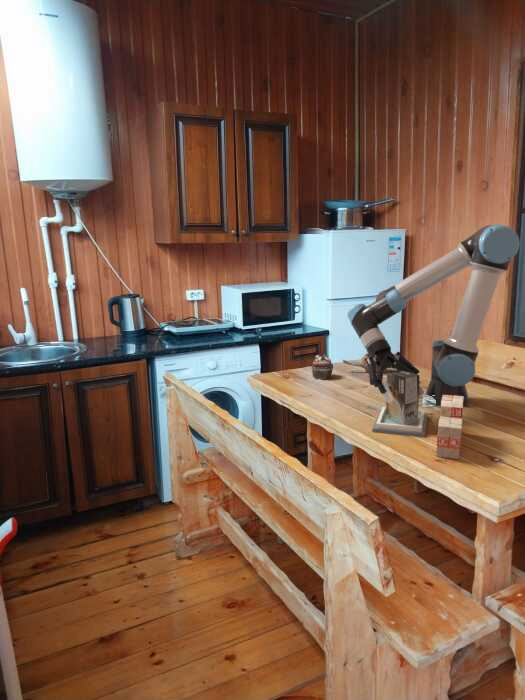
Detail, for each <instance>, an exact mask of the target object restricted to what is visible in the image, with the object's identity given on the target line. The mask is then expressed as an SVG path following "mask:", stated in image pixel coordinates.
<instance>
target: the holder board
mask: <svg viewBox="0 0 525 700" xmlns="http://www.w3.org/2000/svg"><path fill="white" fill-rule="evenodd" d="M427 423H428V413H425V410H424V409H423V410H422V409H418V422H417V423H414V424H410V425H402V424H399V423H397V422H394V421H392V420H389V419H387V418H386V406H382V407H381V409H379V411H378V414H377V417H376V418H375V422H374V423H373V426H372V433H383V434H392V435H402V436H411V435H412V436H414V437H421V436H423V438H425V437H426V431H427V425H428V424H427Z"/></svg>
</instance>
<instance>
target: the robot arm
mask: <svg viewBox="0 0 525 700" xmlns="http://www.w3.org/2000/svg"><path fill="white" fill-rule="evenodd" d="M520 244H521V243H520V238H519V235H518V233H517V232H516V231H515V230H514V229H513V228H511V227H510V226H508V225H504V224H499V223H498V224H492V225H491V224H490V225H485V226H484V227H481V228H480V229H478V230H476V231H475V232H474V233H473V234H471V235H470V236H468V237H467V238H465V239H463V241H461V242H460V243H458V245H457V247H456V248H455V249H453V250H452V251H450V252H448V253H446V254H445V255H442V256H441V257H440V258H438V259H436V260H434V261H433V262H431V263H429V264H427V265H426V266H424V267H422V268H420V269H419V270H417V271H416V272H413V274H411V275H409V276H407V277H406V278H404V279H402V280H401V281H399V282H397V283H396V284H394V285H392V286H390V287H389V288H387V289H383V290H382V291H379V293H378V294H377V295H376V298H375V301H373V302H372V303H371V304H368V305H366V304H365V303H358V304H357V305H356V304H355V305H353V306H352V307H351V308H350V309H349V310H348V312H347V318H348V319H349V322H350V325H351V326H352V329H354V331H355V333H356V335H357V336H358V338H359V340H360V342H361V343H362V345H363V347H364V348H365V350H366V352H367V354H369V356H370V357H369V358H368V360H367V361H366V363H367V365H368V369H369V372H368V377H369V385H370V386H373V387H375V388H378V390H379V392H380V393H381V394H382V395H383V397H384V399H385V400H387V402H388V404H389V403H391V402H392V401H393V400H394V397H393V395H392V393H391V392H390V390H389V388H388V387H387V382H386V381H383V378H384V371H385V370H386V369H393V370H404V371H407V372H411V373H414V374H417V375H419V374H420V370H419V369H418V368H417V367H415V366H414V364H412V363H411V362H410V361H409V360H408V359H406V358H405V357H404V356H403V355H402V353H401V352H400V351H397V352H395V353H393V352H392V350H391V349H392V347H391V345H390V343H389V342H388V340H387V339H386V337H385V335H384V333H383V332H382V331H381V328H380V327H379V325H381V324H382V323H384V322H385V321H387V320H388V319H390V318H392V317H394V316H396V315H398V314H399V313H400V312H401V311H402V310H404V309H406V307H407V302H408V301H410V300H412V299H414V298H416V297H417V296H419V295H421V294H423V293H425V292H426V291H428V290H430V289H431V288H433V287H435V286H437V285H438V284H440V283H442V282H444V281H445V280H447V279H449V278H451V277H452V276H454V275H456V274H458V273H460V272H461V271H463V270H465V269H467V268H468V267H471V268H472V271H471V273H470V277H469V279H468V282H467V286H466V289H465V292H464V295H463V298H462V301H461V304H460V306H459V310H458V312H457V316H456V319H455V322H454V324H453V328H452V331H451V334H450V337H448V338H446V339H442V338H441V339H436V340H434V341H433V343H432V347H431V349H432V353H431V370H430V371H431V376H430V381H429V384H428V386H427V388H426V391H425V389H424V387H423V386H422V383H421V380H419V397H421V396H422V395H423V394H425V395H426V394H427V395H429V396H432V395H435V396H432V397H433V398H434V399H435V400H436V404H435V405H438V406H441V400H442V396H443V395H453V396H464V400H463V406H464V405H466V404H468V403H469V394H468V390H467V387H466V385H467V384H468V383H470V382H471V381H472V380H473V379H474V377H475V375H476V364H475V363H476V361H477V358H478V355H479V352H480V350H479V348H478V346H477V343H478V340H479V337H480V334H481V332H482V329H483V326H484V323H485V321H486V320H485V319H486V317H487V315H488V311H489V309H490V306H491V303H492V300H493V297H494V294H495V291H496V289H497V286H498V283H499V280H500V277H501V276H502V275H503V274H505V273H507V272H508V269H509V266H510V264H511V261H512V260H513V259H514V257H515V256H516V255H517V254H518V251H519V249H520ZM375 363H376V364H377V371H376V367H375Z"/></svg>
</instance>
